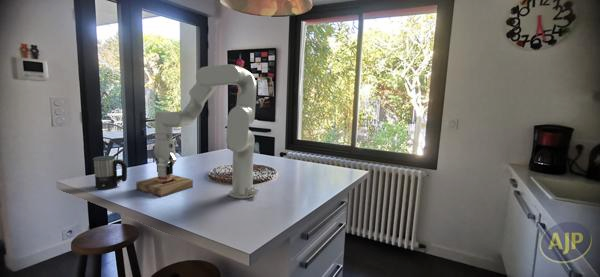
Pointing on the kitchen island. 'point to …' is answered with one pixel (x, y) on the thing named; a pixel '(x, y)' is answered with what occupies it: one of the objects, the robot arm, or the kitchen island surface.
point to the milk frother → (108, 172)
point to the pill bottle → (163, 171)
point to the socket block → (164, 185)
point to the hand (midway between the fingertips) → (164, 172)
